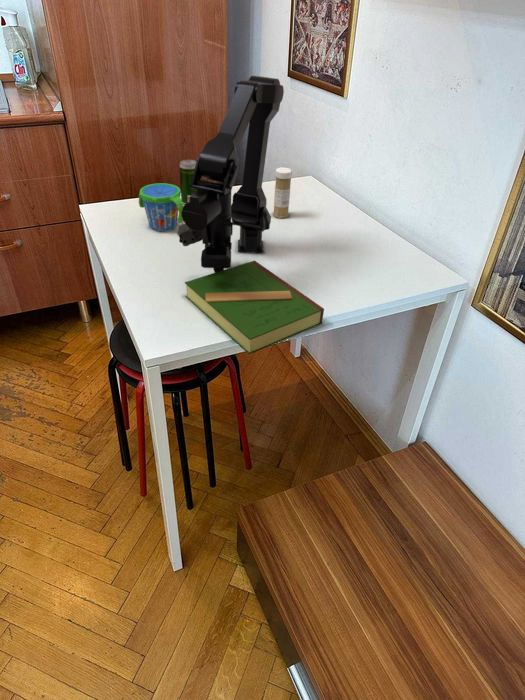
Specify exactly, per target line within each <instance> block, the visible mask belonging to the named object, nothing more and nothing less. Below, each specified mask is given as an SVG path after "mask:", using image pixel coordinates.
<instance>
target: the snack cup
mask: <svg viewBox="0 0 525 700" xmlns="http://www.w3.org/2000/svg"><path fill="white" fill-rule="evenodd" d="M138 206H139V207H140V208H141V209H143V208H144V211H145V215H146V218H147V222H148V225H149V228H151V229H153V230H156V231H159V232H163V231H170V230H174V229H175V227H177V225H178V223H183V222H184V221H183V219H182V214H181V212H182V209H183V207H184V204H183V203H182V200H181V187H179V186H177V185H175V184H172V183H164V182H162V183H161V182H158V183H150V184H147V185H144V186H143V187H141V188H140V189H139V193H138Z"/></svg>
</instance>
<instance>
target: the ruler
mask: <svg viewBox="0 0 525 700" xmlns="http://www.w3.org/2000/svg"><path fill="white" fill-rule="evenodd" d="M205 298H206V302H234V301H267V300H292V296H291V293H290V291H263V292H227V293H205Z"/></svg>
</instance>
